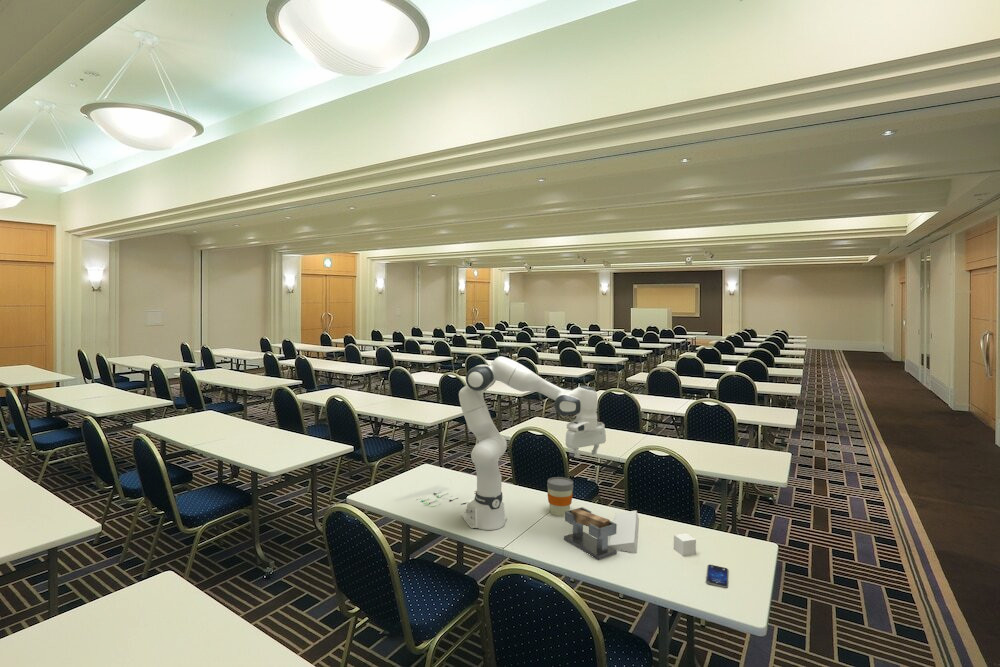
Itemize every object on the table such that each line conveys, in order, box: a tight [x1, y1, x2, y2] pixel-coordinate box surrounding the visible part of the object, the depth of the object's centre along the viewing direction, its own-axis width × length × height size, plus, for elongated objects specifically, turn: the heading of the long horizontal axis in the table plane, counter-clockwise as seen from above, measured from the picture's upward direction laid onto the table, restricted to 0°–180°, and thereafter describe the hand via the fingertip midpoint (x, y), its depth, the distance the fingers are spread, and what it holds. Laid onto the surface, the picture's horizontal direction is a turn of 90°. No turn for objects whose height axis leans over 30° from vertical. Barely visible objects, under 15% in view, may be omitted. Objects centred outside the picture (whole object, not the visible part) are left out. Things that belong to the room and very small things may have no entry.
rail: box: [571, 507, 611, 528], centre depth 209 cm, size 16×4×4 cm, turn 44°
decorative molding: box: [608, 510, 640, 554], centre depth 222 cm, size 34×5×10 cm
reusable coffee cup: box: [546, 476, 574, 517], centre depth 245 cm, size 13×12×15 cm
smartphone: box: [705, 564, 729, 589], centre depth 187 cm, size 7×1×15 cm
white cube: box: [673, 532, 697, 557], centre depth 207 cm, size 6×6×6 cm
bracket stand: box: [563, 506, 618, 561], centre depth 210 cm, size 21×10×12 cm, turn 33°
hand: (585, 455), depth 220 cm, fingers open, 8 cm apart
